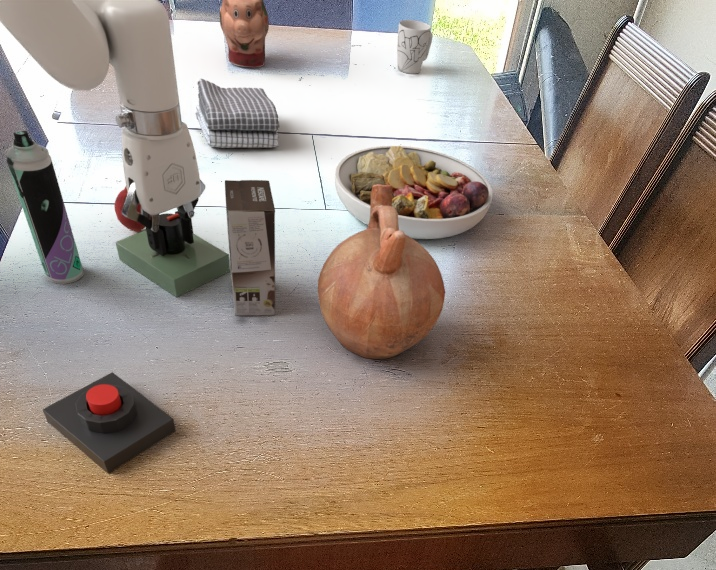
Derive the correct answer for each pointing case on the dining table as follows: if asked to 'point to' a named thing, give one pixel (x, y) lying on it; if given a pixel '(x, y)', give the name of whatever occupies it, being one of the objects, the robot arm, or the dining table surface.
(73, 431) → the button block
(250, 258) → the coffee box
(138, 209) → the red oval fruit
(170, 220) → the dial
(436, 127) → the dining table surface
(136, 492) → the dining table surface
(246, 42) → the pig figurine
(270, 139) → the towel
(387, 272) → the jug
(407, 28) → the mug
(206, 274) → the dial panel
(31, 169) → the spray can
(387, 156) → the bowl
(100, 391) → the button
